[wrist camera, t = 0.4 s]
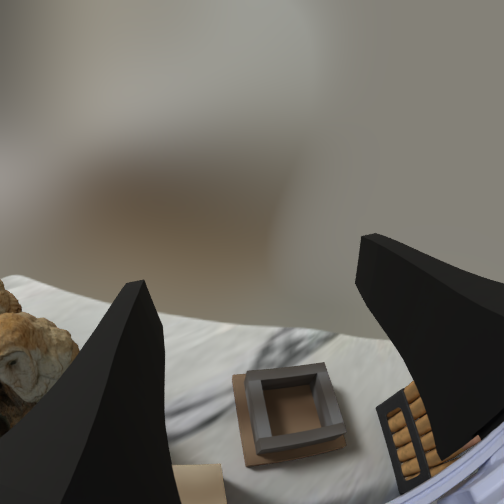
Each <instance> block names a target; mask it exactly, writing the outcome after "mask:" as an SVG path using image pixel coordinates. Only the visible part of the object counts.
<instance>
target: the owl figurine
mask: <svg viewBox="0 0 504 504" xmlns="http://www.w3.org/2000/svg"><path fill="white" fill-rule="evenodd" d="M79 352H80V351H79V348H78V345H77V344H76V343H75V342H74V341H73V340H72V338H71V334H70V333H69V332H68V331H67V330H64V329H59V328H57V326H56V325H55V324H54V323H53V322H51V321H49V320H47V319H45V318H36V317H34V316H32V315H30V314H29V313H26V312H22V307H21V305H20V304H19V303H18V300H17V299H16V298H15V296H14V295H13V294H12V293H10V292H9V291H7V290H5V288H4V284H3V282H2V281H1V280H0V438H1V437H2V436H3V435H4V434H6V433H7V432H8V431H9V430H10V429H11V428H12V427H13V426H15V425H16V424H17V423H18V422H19V421H20V420H21V419H22V418H23V417H24V416H25V415H26V414H27V413H28V412H29V411H30V410H31V409H32V408H33V407H34V406H35V405H36V404H37V403H38V402H39V401H40V399H41V398H42V397H43V396H44V395H45V394H46V393H47V392H48V391H49V390H50V388H51V387H52V386H53V385H54V384H55V383H56V382H57V380H58V379H59V378H60V377H61V375H62V374H63V373H64V372H65V370H66V369H67V368H68V367H69V365H70V364H71V363H72V361H73V360H74V359H75V357H76V356H77V355H78V353H79Z"/></svg>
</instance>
